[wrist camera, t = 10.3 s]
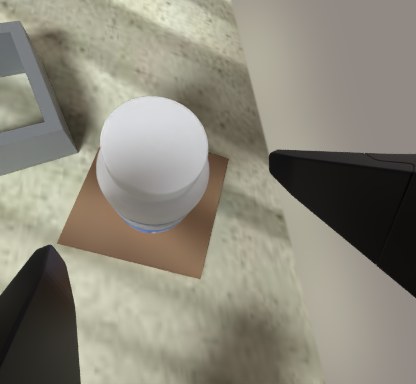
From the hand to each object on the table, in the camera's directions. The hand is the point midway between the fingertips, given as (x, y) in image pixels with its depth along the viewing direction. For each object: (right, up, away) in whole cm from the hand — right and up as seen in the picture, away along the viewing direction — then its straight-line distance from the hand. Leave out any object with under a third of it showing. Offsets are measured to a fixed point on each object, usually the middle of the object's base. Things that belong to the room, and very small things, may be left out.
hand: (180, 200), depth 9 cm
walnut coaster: (-3, 0, +9) cm, 10 cm away
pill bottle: (-3, 0, +9) cm, 9 cm away
